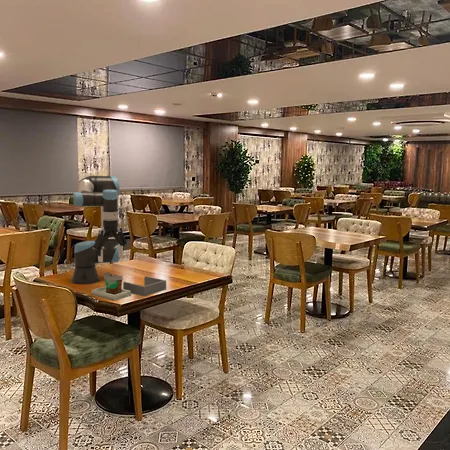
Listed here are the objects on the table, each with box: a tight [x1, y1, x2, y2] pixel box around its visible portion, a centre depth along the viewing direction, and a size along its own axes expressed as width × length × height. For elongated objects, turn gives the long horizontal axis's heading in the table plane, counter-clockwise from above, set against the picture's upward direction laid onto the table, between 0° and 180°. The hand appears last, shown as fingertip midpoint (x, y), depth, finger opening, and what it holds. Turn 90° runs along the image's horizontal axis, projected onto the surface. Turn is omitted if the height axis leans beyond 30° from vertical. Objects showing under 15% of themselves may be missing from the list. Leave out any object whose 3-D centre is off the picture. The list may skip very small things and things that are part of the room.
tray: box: [91, 285, 132, 301], centre depth 231 cm, size 17×11×2 cm, turn 56°
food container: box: [103, 271, 124, 295], centre depth 231 cm, size 12×6×10 cm, turn 51°
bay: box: [122, 275, 167, 297], centre depth 242 cm, size 16×17×5 cm
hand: (110, 259), depth 229 cm, fingers open, 13 cm apart
